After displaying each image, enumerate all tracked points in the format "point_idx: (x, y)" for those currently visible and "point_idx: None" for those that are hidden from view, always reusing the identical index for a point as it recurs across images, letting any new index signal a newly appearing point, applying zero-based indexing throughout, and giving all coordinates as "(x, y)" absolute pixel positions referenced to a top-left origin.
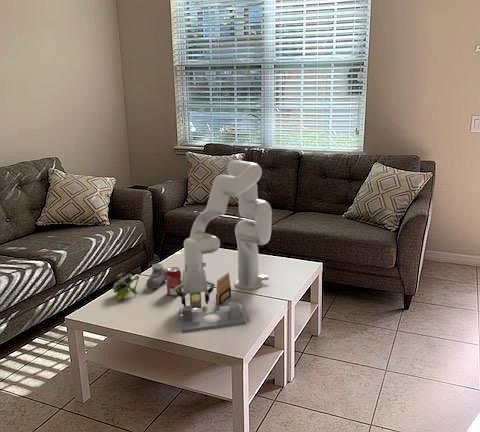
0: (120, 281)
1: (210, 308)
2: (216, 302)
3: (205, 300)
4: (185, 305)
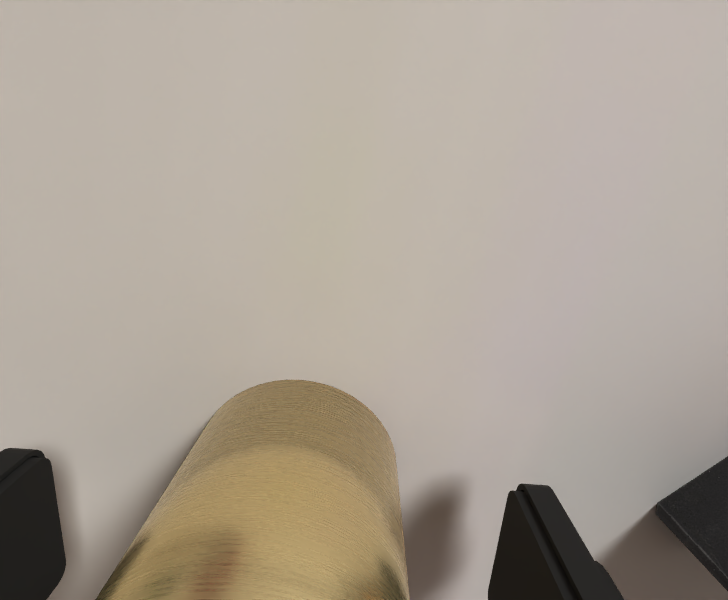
0: None
1: None
2: (701, 559)
3: (514, 556)
4: (45, 592)
